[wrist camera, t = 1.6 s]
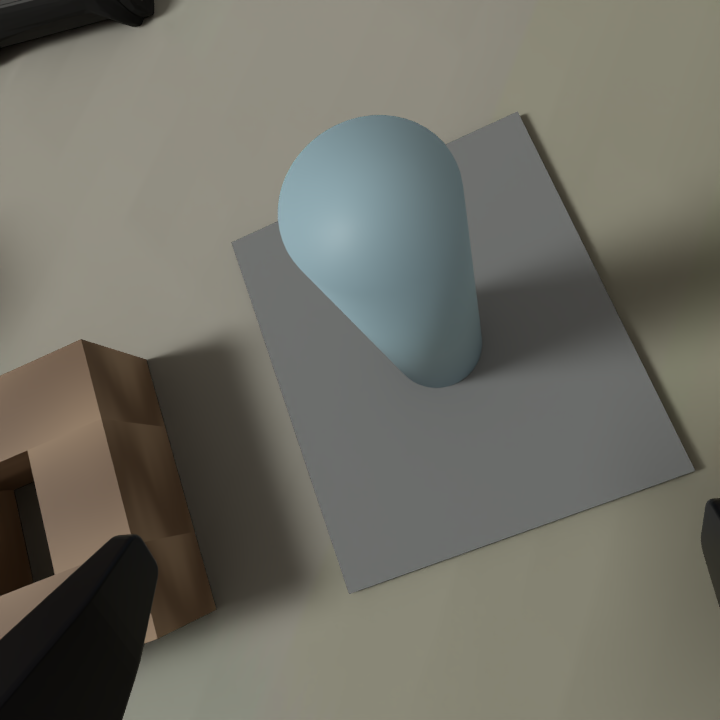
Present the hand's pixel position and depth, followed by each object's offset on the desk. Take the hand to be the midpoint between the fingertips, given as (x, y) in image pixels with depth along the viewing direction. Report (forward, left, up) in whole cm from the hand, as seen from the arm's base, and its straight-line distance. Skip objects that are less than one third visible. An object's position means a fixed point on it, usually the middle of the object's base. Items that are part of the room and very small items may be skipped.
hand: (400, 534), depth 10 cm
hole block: (+4, +14, -12) cm, 19 cm away
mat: (+5, -2, -12) cm, 13 cm away
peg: (+5, -2, -11) cm, 13 cm away
